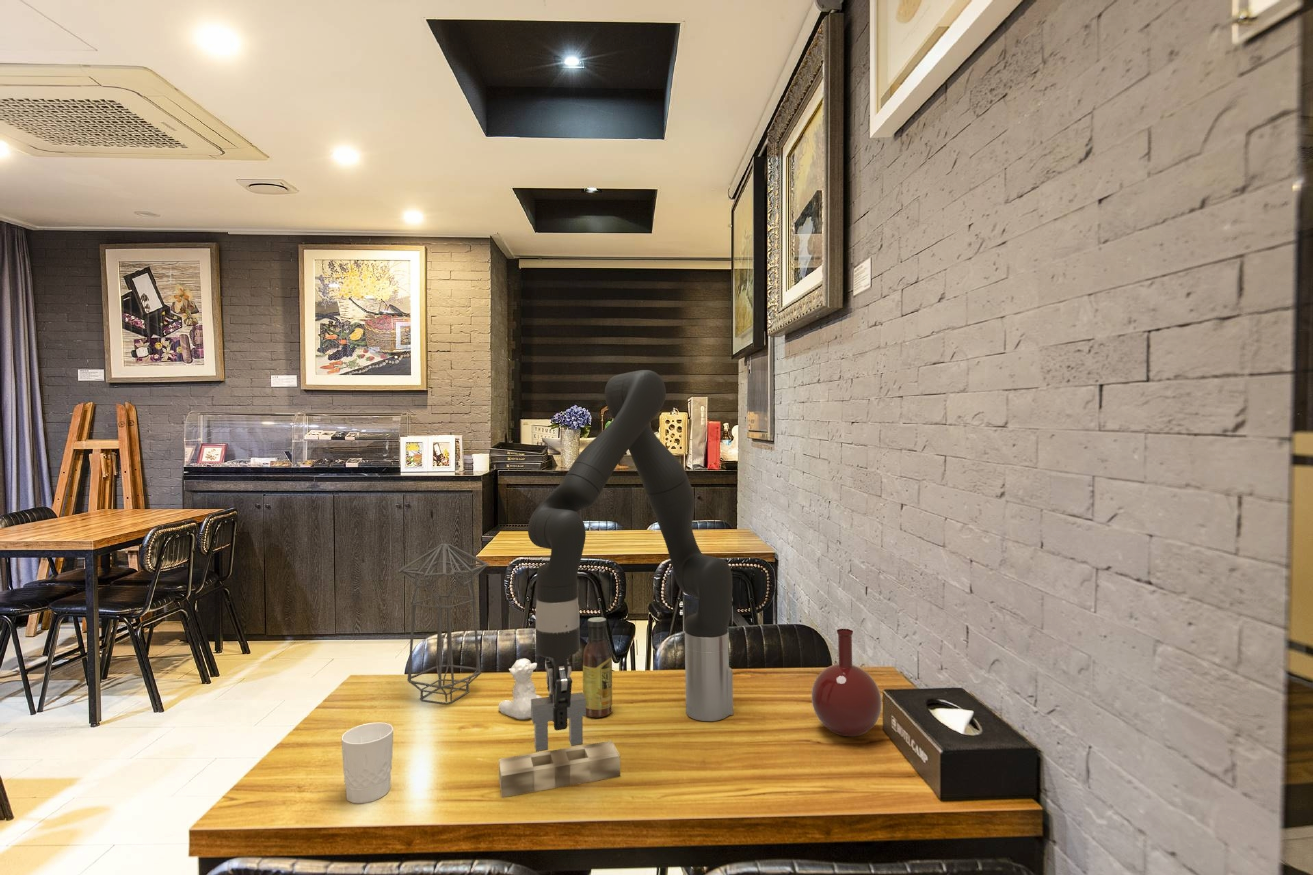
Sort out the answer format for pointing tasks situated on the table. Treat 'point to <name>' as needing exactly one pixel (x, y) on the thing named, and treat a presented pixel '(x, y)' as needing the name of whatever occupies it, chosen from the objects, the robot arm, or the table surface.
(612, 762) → the rail
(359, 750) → the white cup
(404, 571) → the geometric lantern
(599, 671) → the sauce bottle
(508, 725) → the table surface
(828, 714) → the round-bottom flask
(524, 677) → the seated beast figurine
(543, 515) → the robot arm
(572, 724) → the grey notched block
